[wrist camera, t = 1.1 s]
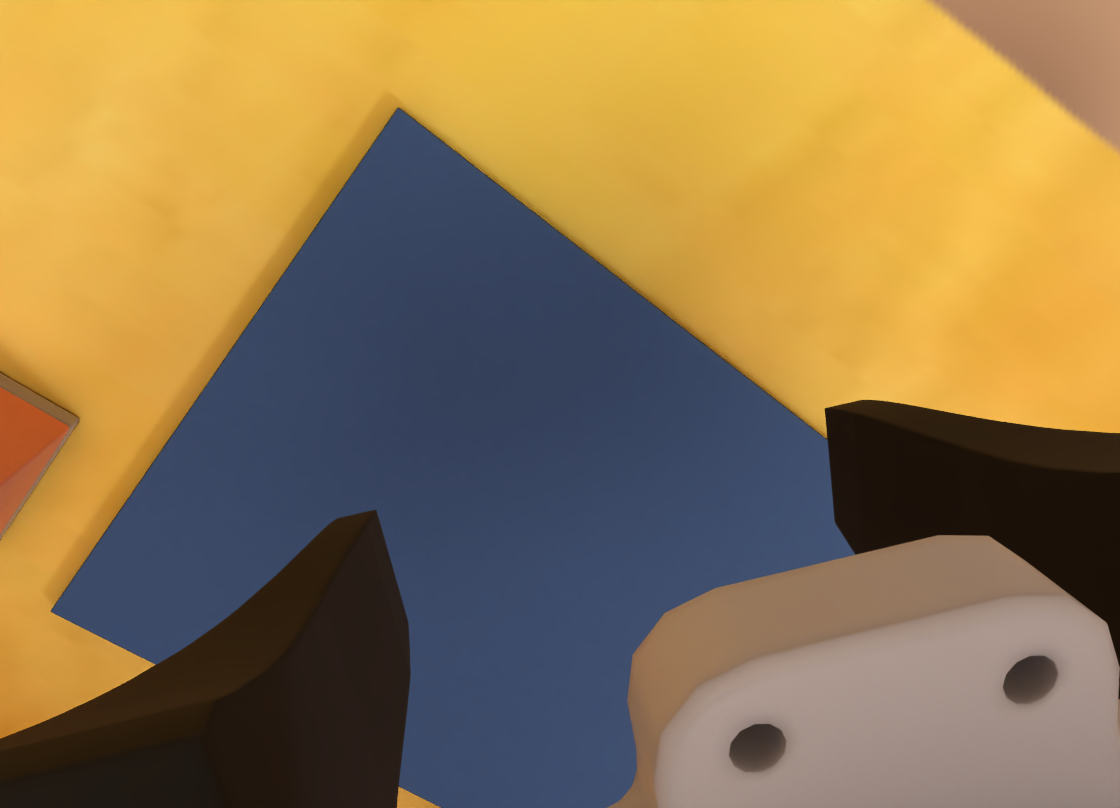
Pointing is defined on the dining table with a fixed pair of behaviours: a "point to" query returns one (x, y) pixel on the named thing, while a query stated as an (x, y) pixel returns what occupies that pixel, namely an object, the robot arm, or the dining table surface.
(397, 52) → the dining table surface
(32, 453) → the orange rectangular block
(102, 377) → the dining table surface
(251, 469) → the cloth
